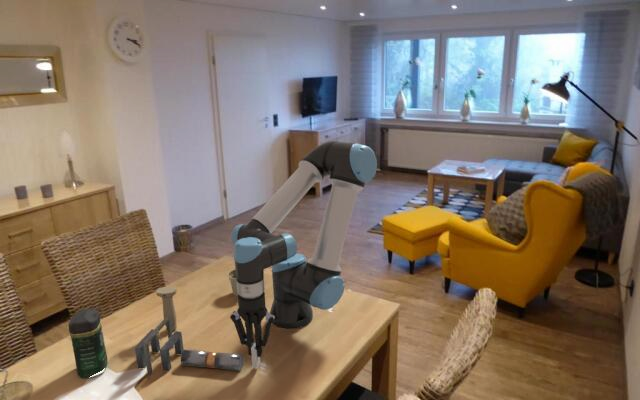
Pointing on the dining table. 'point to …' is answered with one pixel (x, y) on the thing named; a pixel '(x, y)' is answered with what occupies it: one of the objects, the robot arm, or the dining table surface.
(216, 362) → the tube
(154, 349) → the collar
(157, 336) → the frame
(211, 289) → the dining table surface
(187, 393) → the dining table surface
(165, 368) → the dark grey arch
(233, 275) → the flower pot
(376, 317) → the dining table surface
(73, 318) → the coffee jar
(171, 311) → the handle
